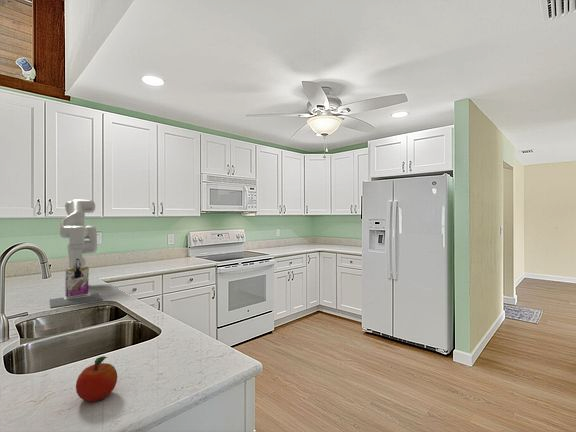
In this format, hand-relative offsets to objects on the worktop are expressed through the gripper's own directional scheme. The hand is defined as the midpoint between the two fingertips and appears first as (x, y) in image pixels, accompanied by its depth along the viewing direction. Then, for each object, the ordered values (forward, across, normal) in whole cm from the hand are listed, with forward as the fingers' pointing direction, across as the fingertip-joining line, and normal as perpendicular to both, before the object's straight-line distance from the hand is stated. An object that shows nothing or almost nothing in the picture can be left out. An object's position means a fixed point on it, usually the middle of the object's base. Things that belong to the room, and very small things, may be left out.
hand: (77, 276), depth 184 cm
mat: (+13, +7, -1) cm, 15 cm away
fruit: (+12, +127, -5) cm, 128 cm away
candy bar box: (+11, 0, 0) cm, 11 cm away
